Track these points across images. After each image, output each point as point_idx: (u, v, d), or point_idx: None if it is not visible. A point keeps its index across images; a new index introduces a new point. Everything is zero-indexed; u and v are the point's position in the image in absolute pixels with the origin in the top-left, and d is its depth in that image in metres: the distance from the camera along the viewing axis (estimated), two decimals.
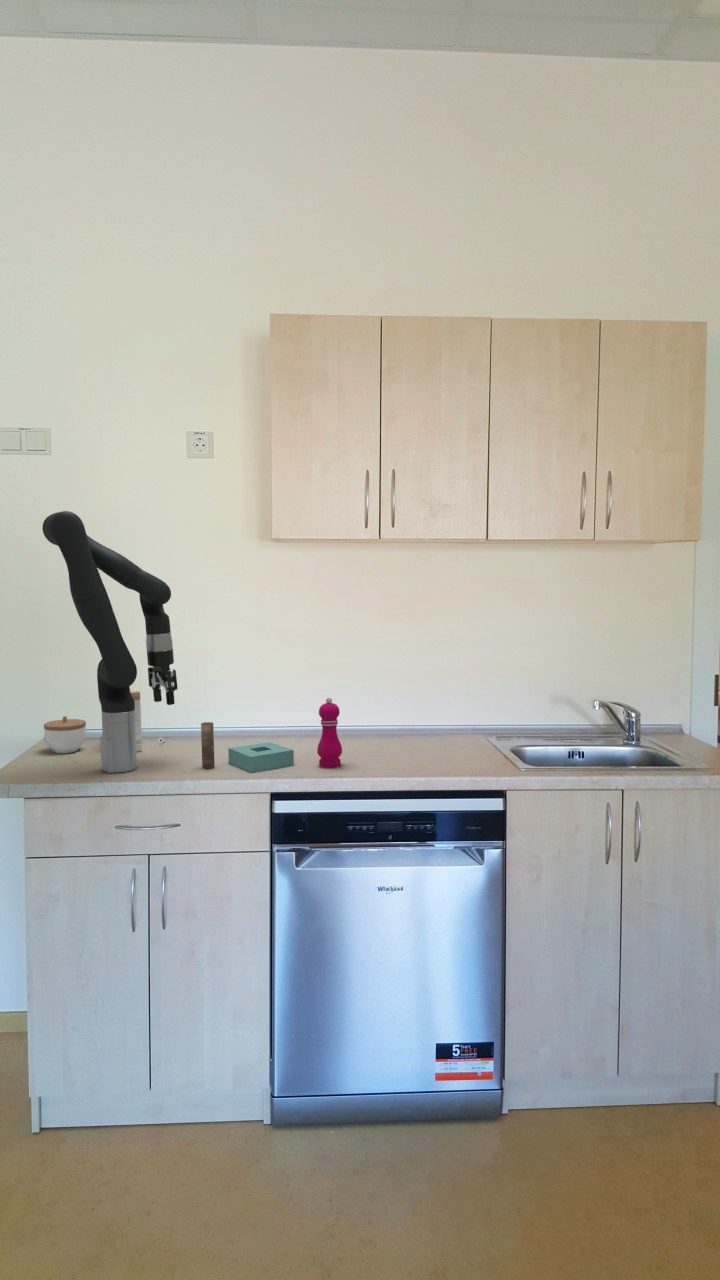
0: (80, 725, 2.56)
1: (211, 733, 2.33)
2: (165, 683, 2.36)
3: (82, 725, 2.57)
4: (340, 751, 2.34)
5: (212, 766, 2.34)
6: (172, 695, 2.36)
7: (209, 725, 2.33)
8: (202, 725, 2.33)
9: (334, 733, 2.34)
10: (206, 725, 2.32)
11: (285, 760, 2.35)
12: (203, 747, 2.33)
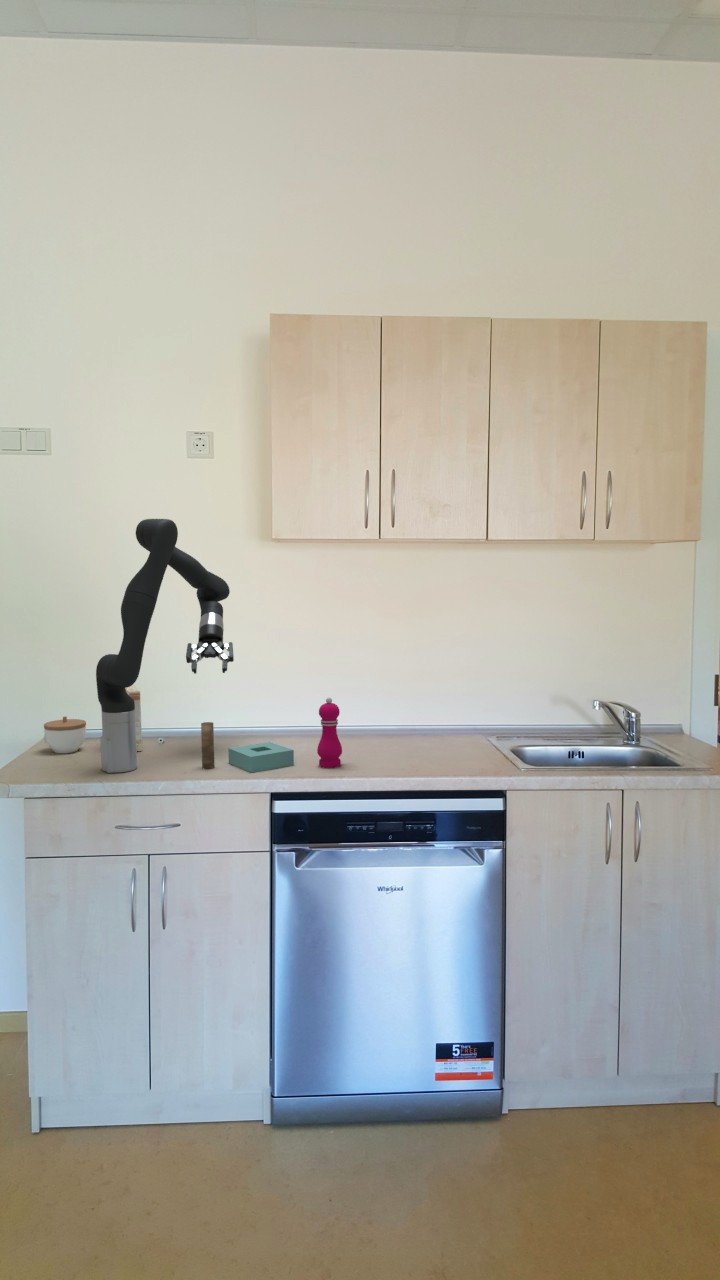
0: (80, 725, 2.56)
1: (211, 733, 2.33)
2: None
3: (82, 725, 2.57)
4: (340, 751, 2.34)
5: (212, 766, 2.34)
6: None
7: (209, 725, 2.33)
8: (202, 725, 2.33)
9: (334, 733, 2.34)
10: (206, 725, 2.32)
11: (285, 760, 2.35)
12: (203, 747, 2.33)
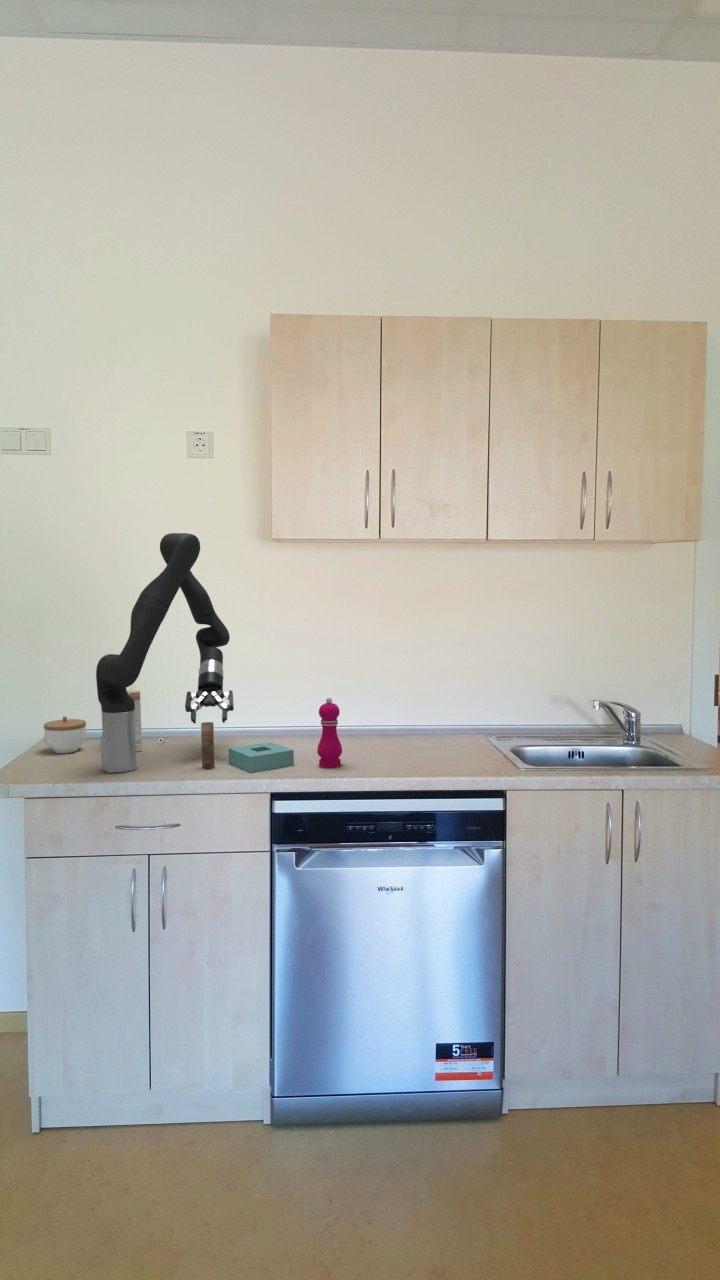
0: (80, 725, 2.56)
1: (211, 733, 2.33)
2: None
3: (82, 725, 2.57)
4: (340, 751, 2.34)
5: (212, 766, 2.34)
6: None
7: (209, 725, 2.33)
8: (202, 725, 2.33)
9: (334, 733, 2.34)
10: (206, 725, 2.32)
11: (285, 760, 2.35)
12: (203, 747, 2.33)
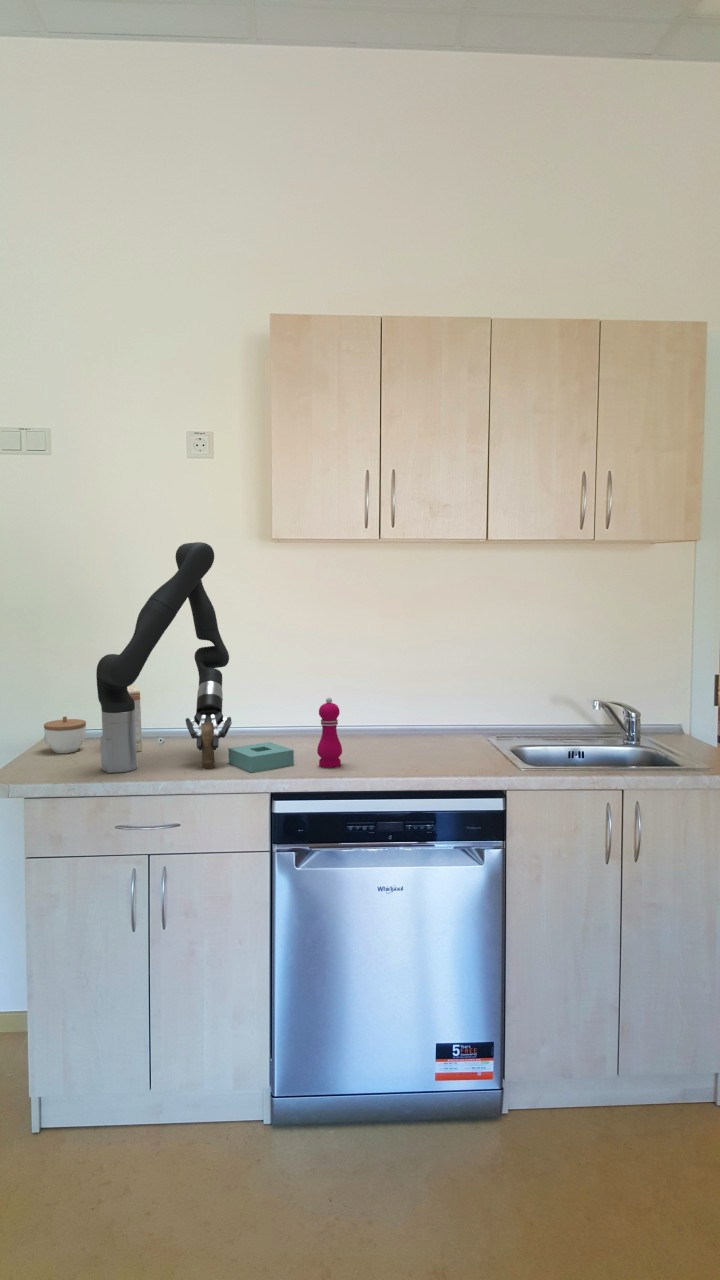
0: (80, 725, 2.56)
1: (211, 733, 2.33)
2: None
3: (82, 725, 2.57)
4: (340, 751, 2.34)
5: (212, 766, 2.34)
6: (218, 741, 2.35)
7: (209, 725, 2.33)
8: (202, 725, 2.33)
9: (334, 733, 2.34)
10: (206, 725, 2.32)
11: (285, 760, 2.35)
12: (203, 747, 2.33)
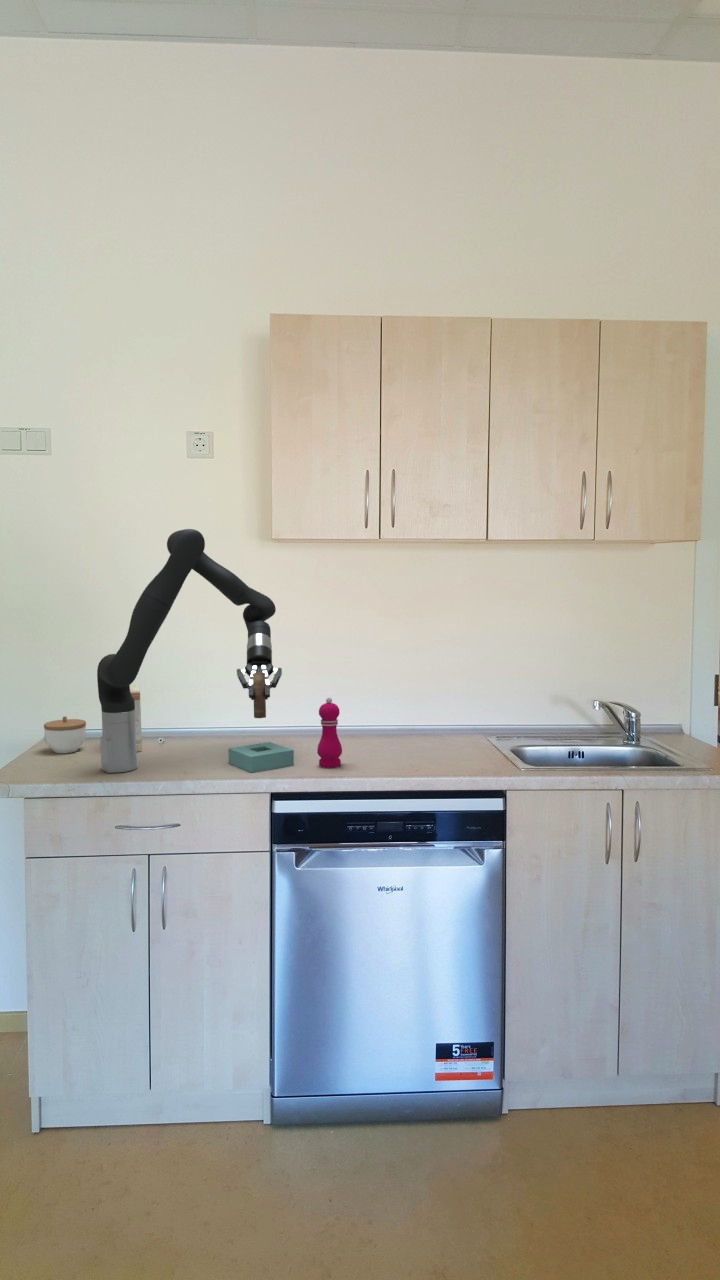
0: (80, 725, 2.56)
1: (263, 682, 2.35)
2: None
3: (82, 725, 2.57)
4: (340, 751, 2.34)
5: (264, 715, 2.36)
6: (269, 690, 2.37)
7: (261, 674, 2.35)
8: (254, 674, 2.35)
9: (334, 733, 2.34)
10: (258, 674, 2.35)
11: (285, 760, 2.35)
12: (255, 696, 2.35)
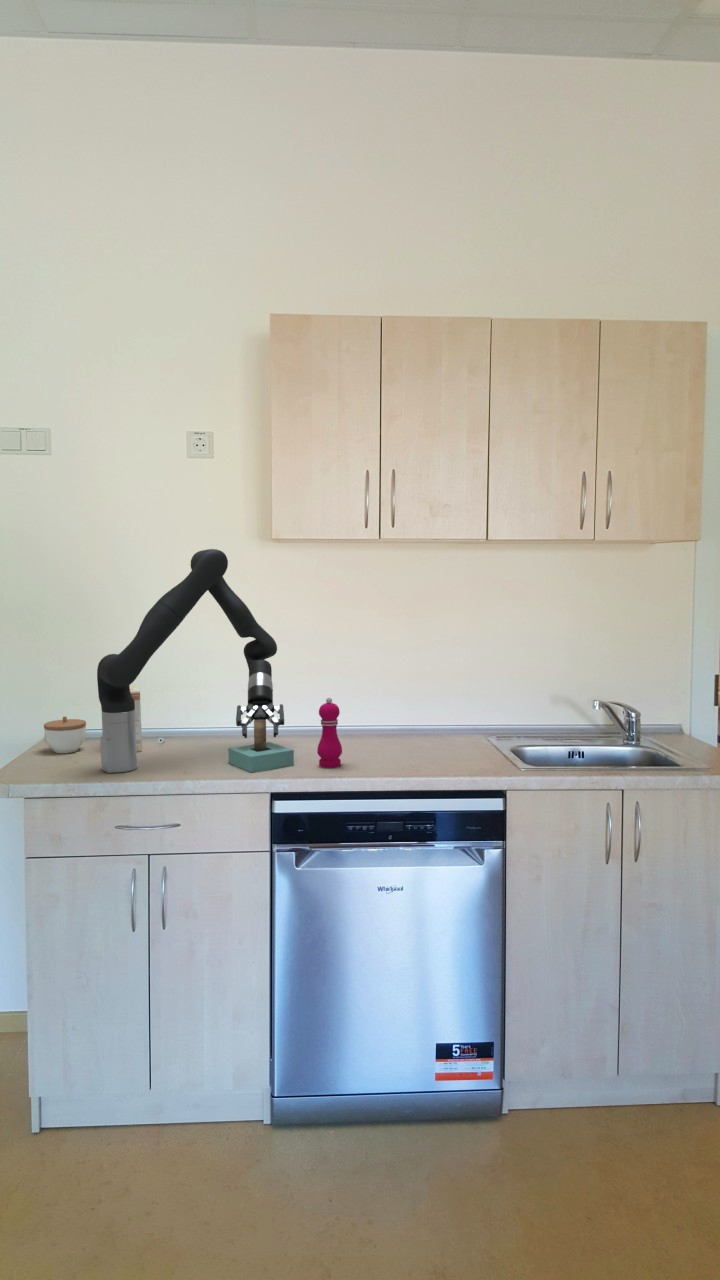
0: (80, 725, 2.56)
1: (264, 730, 2.37)
2: None
3: (82, 725, 2.57)
4: (340, 751, 2.34)
5: None
6: None
7: (262, 722, 2.36)
8: (255, 722, 2.36)
9: (334, 733, 2.34)
10: (259, 722, 2.36)
11: (285, 760, 2.35)
12: (256, 744, 2.37)
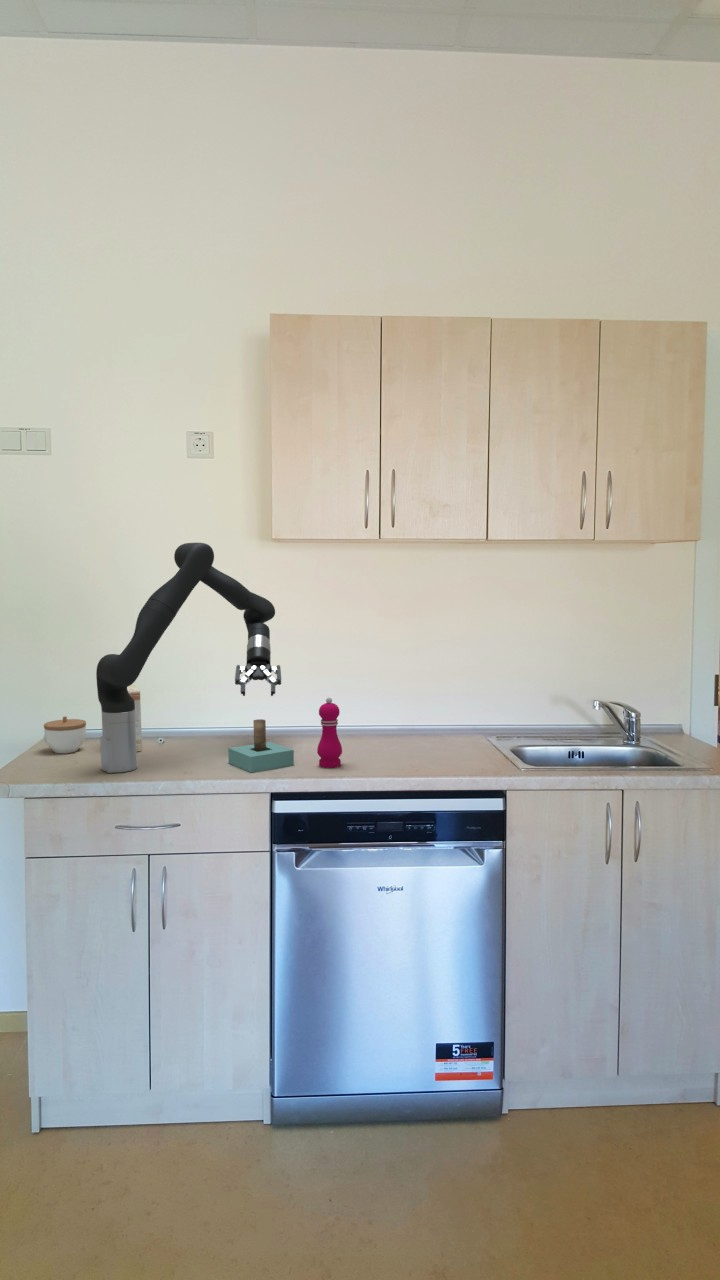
0: (80, 725, 2.56)
1: (263, 730, 2.37)
2: None
3: (82, 725, 2.57)
4: (340, 751, 2.34)
5: None
6: None
7: (262, 722, 2.36)
8: (255, 722, 2.36)
9: (334, 733, 2.34)
10: (259, 722, 2.36)
11: (285, 760, 2.35)
12: (256, 744, 2.37)
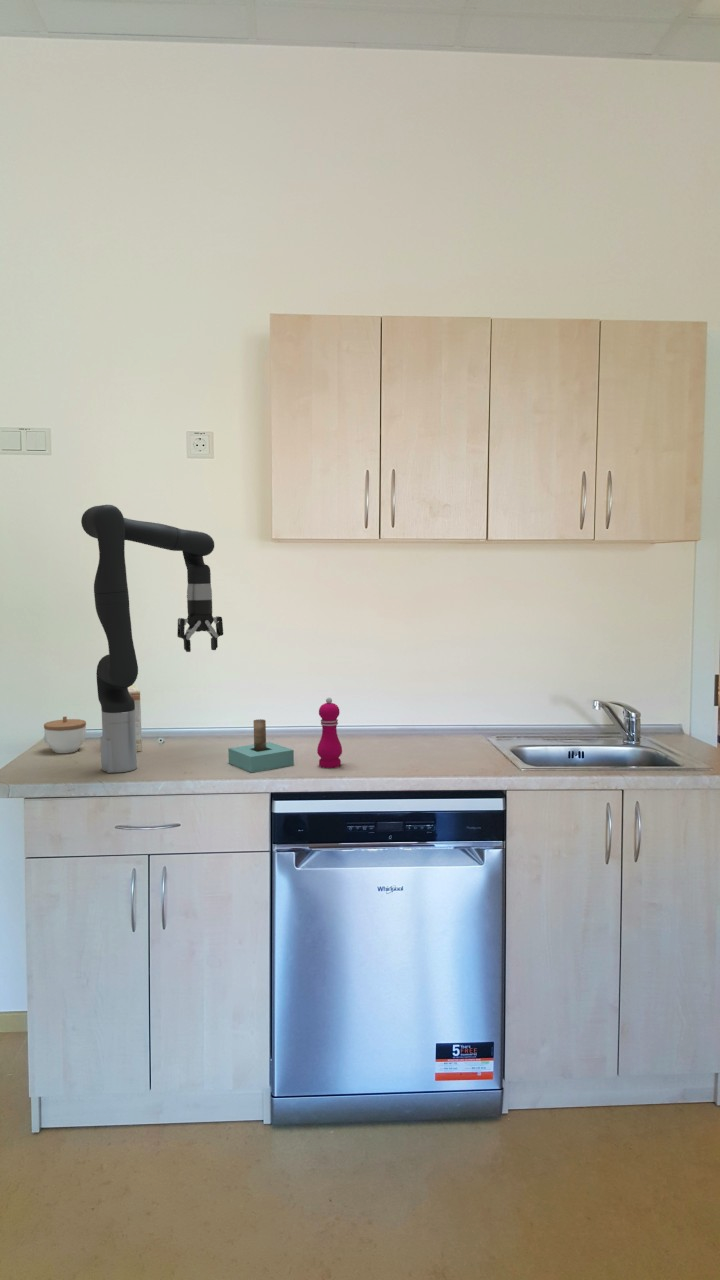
0: (80, 725, 2.56)
1: (264, 730, 2.37)
2: None
3: (82, 725, 2.57)
4: (340, 751, 2.34)
5: None
6: None
7: (262, 722, 2.36)
8: (255, 722, 2.36)
9: (334, 733, 2.34)
10: (259, 722, 2.36)
11: (285, 760, 2.35)
12: (256, 744, 2.37)
